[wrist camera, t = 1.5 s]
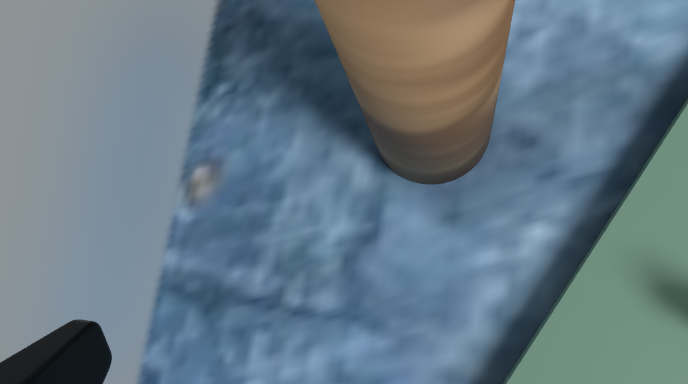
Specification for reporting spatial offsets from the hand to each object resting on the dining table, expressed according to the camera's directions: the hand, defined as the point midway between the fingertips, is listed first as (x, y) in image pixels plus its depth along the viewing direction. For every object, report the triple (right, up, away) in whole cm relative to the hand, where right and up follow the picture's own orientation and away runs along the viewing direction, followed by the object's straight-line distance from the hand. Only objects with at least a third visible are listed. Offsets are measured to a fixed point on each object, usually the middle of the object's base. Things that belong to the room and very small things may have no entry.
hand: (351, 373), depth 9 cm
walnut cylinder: (+4, +6, +15) cm, 17 cm away
